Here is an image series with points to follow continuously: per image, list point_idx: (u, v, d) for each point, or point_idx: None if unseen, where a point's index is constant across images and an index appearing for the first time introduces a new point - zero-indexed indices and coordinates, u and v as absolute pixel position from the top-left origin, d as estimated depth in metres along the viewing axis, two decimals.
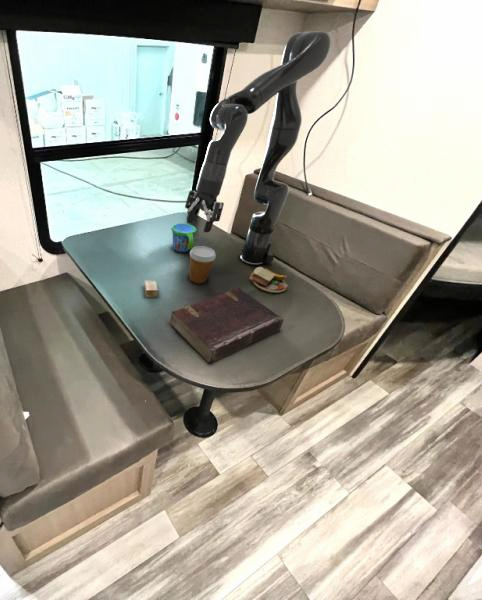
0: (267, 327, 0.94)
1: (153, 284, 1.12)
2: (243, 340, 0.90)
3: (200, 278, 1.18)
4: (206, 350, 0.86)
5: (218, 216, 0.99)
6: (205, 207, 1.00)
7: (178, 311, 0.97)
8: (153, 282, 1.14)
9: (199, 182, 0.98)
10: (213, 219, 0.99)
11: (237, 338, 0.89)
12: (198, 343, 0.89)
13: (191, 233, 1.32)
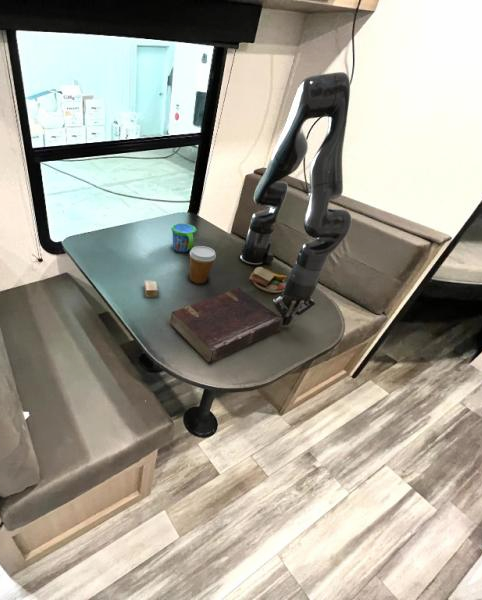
0: (267, 327, 0.94)
1: (153, 284, 1.12)
2: (243, 340, 0.90)
3: (200, 278, 1.18)
4: (206, 350, 0.86)
5: None
6: (299, 306, 0.94)
7: (178, 311, 0.97)
8: (153, 282, 1.14)
9: (303, 290, 0.88)
10: (300, 313, 0.96)
11: (237, 338, 0.89)
12: (198, 343, 0.89)
13: (191, 233, 1.32)
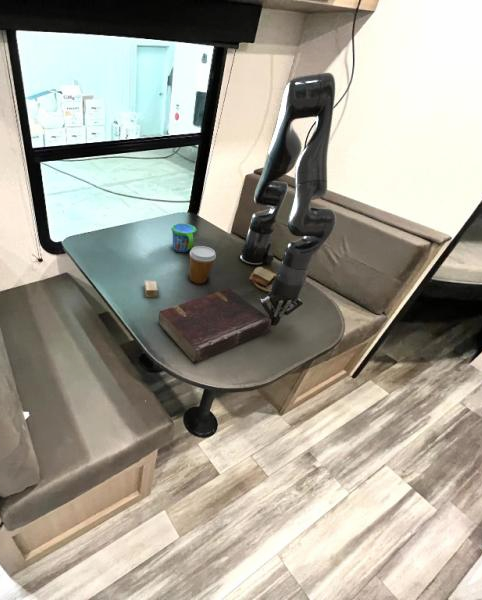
0: (254, 328, 0.93)
1: (153, 284, 1.12)
2: (229, 341, 0.89)
3: (200, 278, 1.18)
4: (191, 350, 0.86)
5: (287, 308, 0.97)
6: (287, 306, 0.93)
7: (166, 310, 0.97)
8: (153, 282, 1.14)
9: (290, 289, 0.87)
10: (288, 313, 0.95)
11: (222, 339, 0.88)
12: (184, 343, 0.89)
13: (191, 233, 1.32)
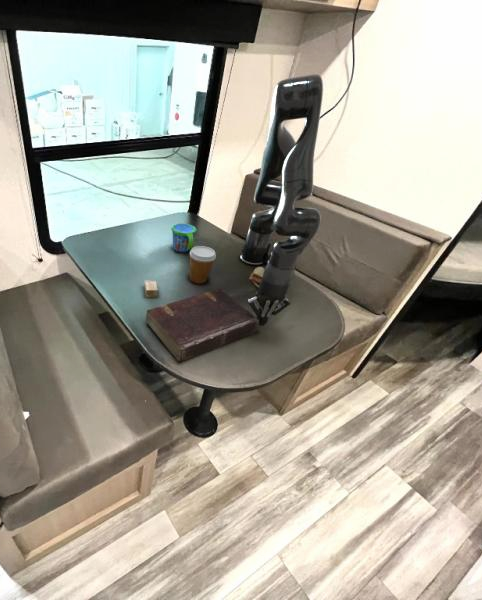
0: (242, 328, 0.93)
1: (153, 284, 1.12)
2: (215, 340, 0.89)
3: (200, 278, 1.18)
4: (176, 349, 0.86)
5: (275, 308, 0.96)
6: (274, 306, 0.93)
7: (153, 309, 0.97)
8: (153, 282, 1.14)
9: (276, 289, 0.87)
10: (275, 313, 0.95)
11: (208, 338, 0.88)
12: (170, 342, 0.89)
13: (191, 233, 1.32)
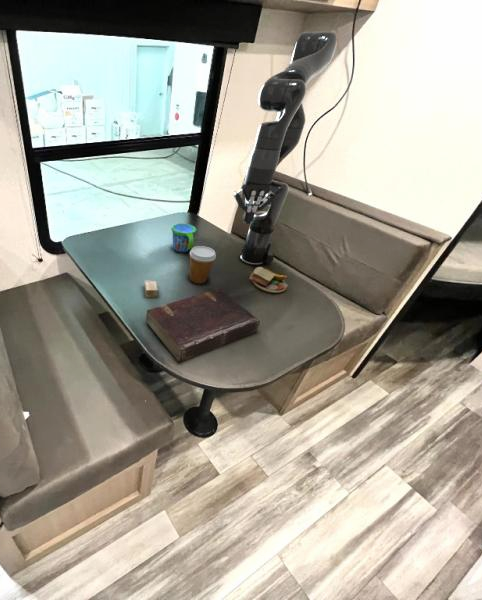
0: (242, 328, 0.93)
1: (153, 284, 1.12)
2: (215, 340, 0.89)
3: (200, 278, 1.18)
4: (176, 349, 0.86)
5: (261, 204, 0.97)
6: (260, 198, 0.93)
7: (153, 309, 0.97)
8: (153, 282, 1.14)
9: (261, 174, 0.87)
10: (261, 208, 0.95)
11: (208, 338, 0.88)
12: (170, 342, 0.89)
13: (191, 233, 1.32)
